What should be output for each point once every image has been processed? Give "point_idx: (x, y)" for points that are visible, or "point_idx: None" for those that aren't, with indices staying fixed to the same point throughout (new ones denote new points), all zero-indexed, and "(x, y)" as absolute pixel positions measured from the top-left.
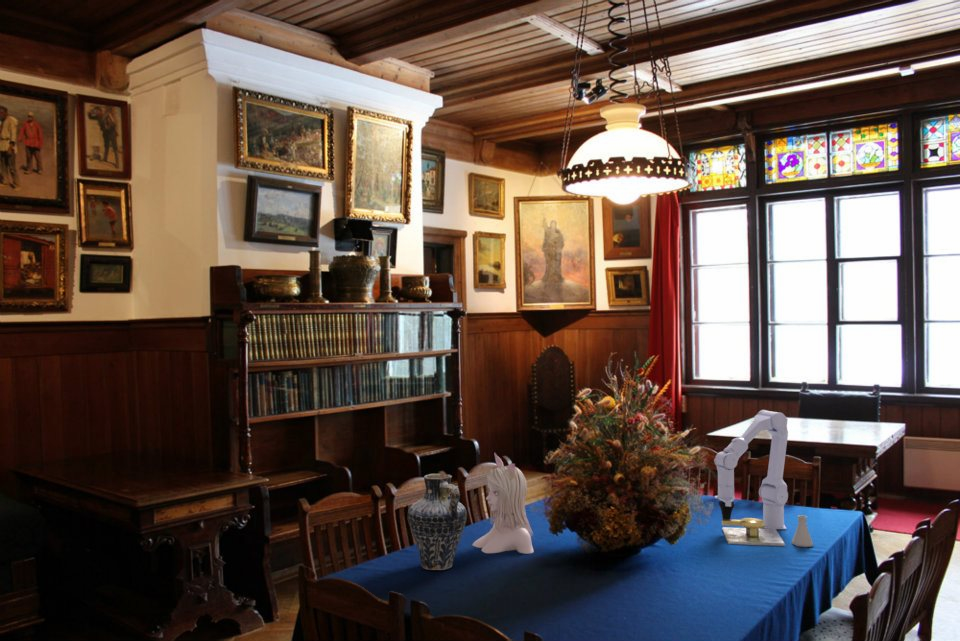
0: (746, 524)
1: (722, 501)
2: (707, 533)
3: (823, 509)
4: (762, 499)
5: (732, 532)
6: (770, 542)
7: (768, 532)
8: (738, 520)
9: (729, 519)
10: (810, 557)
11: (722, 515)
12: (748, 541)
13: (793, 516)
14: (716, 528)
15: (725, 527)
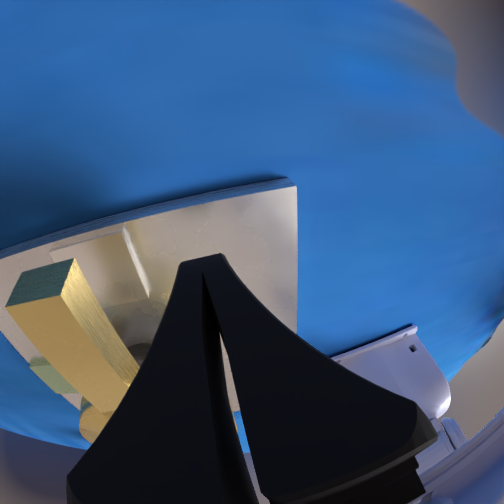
0: (80, 419)
1: (379, 475)
2: (134, 63)
3: (457, 371)
4: (438, 426)
5: (123, 284)
6: (79, 407)
7: (233, 395)
8: (117, 403)
9: (101, 359)
10: (51, 438)
11: (166, 310)
12: (26, 355)
13: (441, 358)
14: (325, 130)
15: (294, 209)
